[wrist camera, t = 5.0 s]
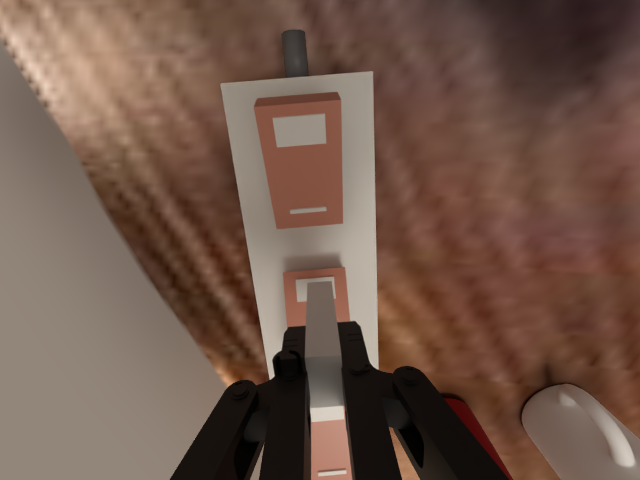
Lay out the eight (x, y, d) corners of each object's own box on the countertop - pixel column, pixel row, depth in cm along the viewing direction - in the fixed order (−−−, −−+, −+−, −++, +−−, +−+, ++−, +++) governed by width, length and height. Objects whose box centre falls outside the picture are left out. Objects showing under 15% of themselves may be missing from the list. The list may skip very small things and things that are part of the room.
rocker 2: (285, 271, 24) (282, 272, 22) (343, 266, 24) (345, 267, 22) (293, 375, 23) (291, 385, 21) (352, 370, 23) (355, 379, 21)
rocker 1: (257, 98, 17) (253, 107, 16) (337, 91, 17) (341, 100, 16) (278, 214, 22) (276, 230, 21) (340, 209, 22) (343, 224, 21)
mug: (509, 370, 33) (592, 466, 23) (584, 347, 33) (702, 436, 23) (523, 442, 37) (599, 551, 27) (590, 423, 36) (693, 528, 27)
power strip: (225, 48, 22) (202, 22, 17) (361, 37, 22) (376, 8, 17) (283, 419, 34) (279, 466, 29) (371, 411, 34) (382, 457, 29)
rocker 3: (299, 386, 27) (298, 397, 25) (350, 381, 27) (352, 392, 25) (307, 475, 27) (306, 492, 25) (357, 470, 27) (360, 487, 25)
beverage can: (400, 414, 35) (444, 548, 23) (448, 382, 33) (520, 507, 22) (432, 444, 37) (488, 582, 25) (479, 415, 35) (561, 547, 24)
